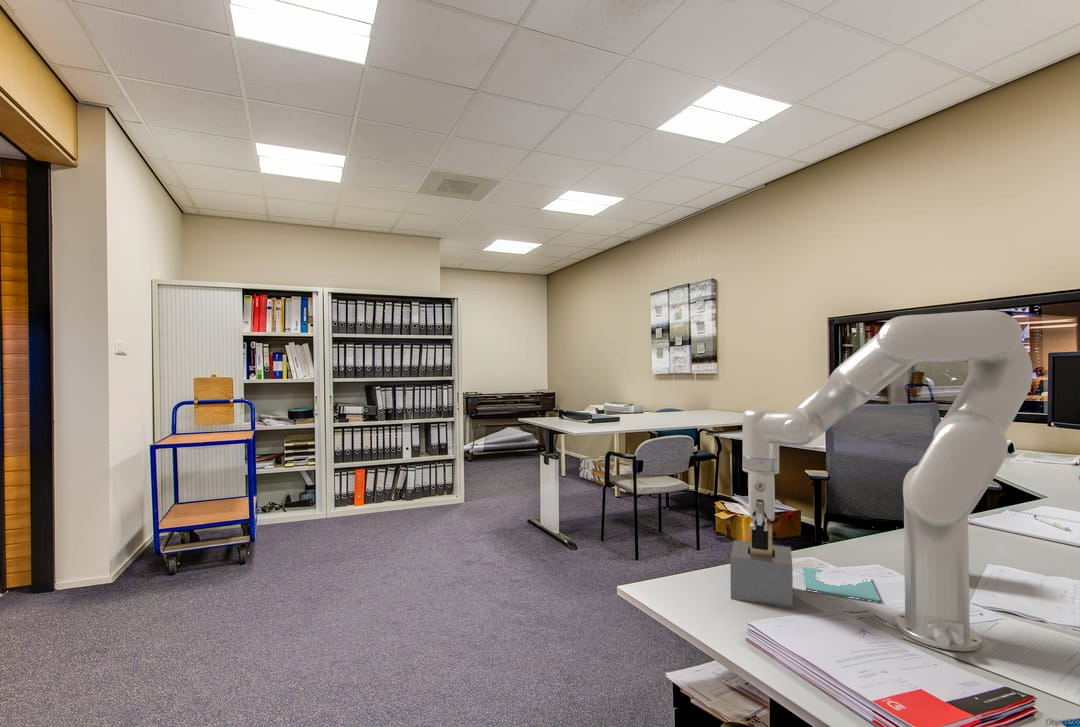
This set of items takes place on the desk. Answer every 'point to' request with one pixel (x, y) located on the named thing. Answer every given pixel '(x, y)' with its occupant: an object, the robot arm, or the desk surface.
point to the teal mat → (840, 587)
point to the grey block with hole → (762, 576)
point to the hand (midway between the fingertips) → (760, 542)
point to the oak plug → (768, 552)
